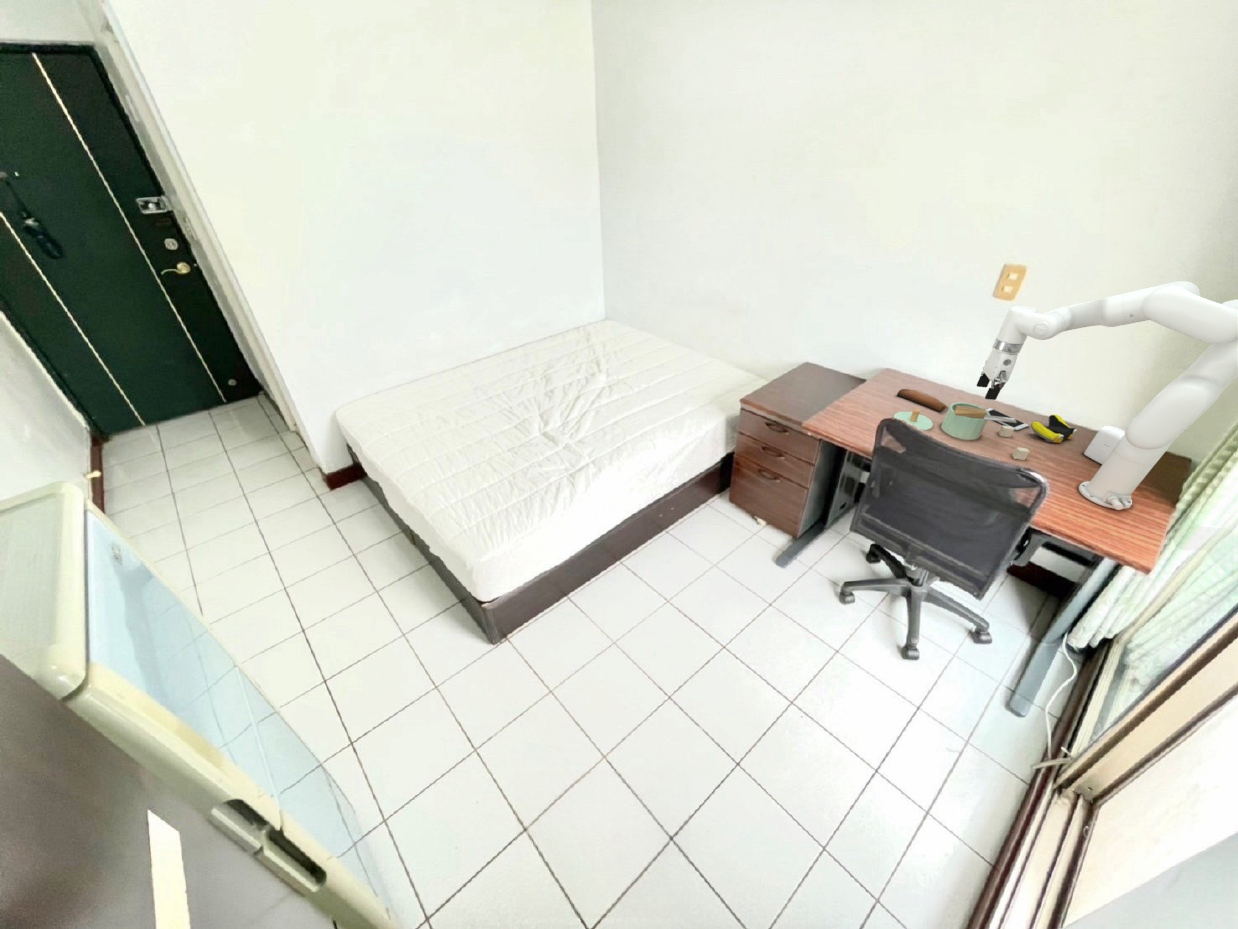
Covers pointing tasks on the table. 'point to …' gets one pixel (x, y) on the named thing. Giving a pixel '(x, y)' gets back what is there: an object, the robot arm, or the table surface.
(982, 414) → the knife
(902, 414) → the lid
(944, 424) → the pot
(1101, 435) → the photo printer
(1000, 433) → the pair of cream blocks
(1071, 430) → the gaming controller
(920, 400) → the sunglasses case
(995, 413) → the smartphone
